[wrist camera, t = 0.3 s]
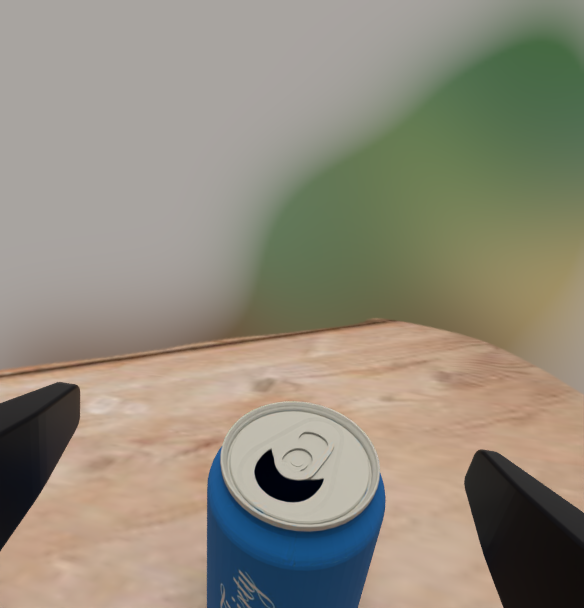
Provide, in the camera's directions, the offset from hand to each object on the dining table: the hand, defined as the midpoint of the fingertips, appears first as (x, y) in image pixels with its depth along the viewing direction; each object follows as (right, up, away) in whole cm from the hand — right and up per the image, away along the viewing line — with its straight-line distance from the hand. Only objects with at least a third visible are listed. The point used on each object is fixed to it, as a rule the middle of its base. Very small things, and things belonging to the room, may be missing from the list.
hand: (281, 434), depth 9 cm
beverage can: (-1, -13, +10) cm, 17 cm away
